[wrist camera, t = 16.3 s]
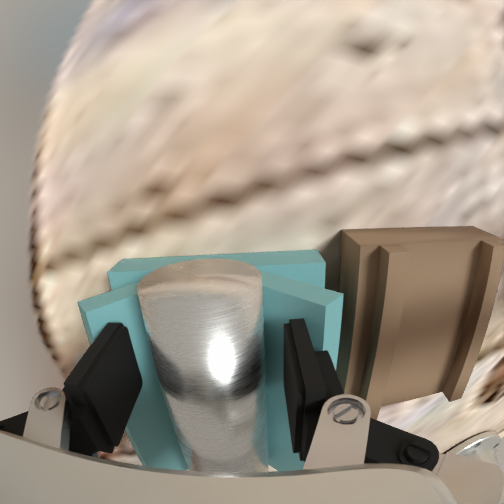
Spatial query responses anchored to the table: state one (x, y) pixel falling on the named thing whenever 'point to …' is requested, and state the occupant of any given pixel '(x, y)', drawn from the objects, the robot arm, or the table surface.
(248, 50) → the table surface
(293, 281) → the v block
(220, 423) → the axle
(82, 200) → the table surface
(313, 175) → the table surface
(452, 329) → the tan stepped block
